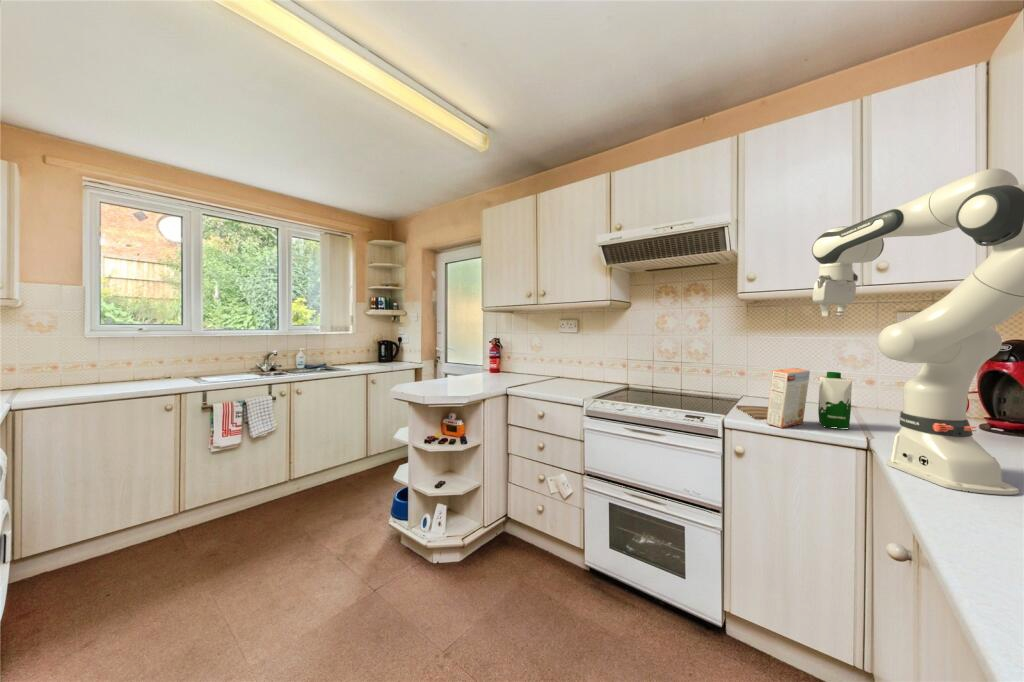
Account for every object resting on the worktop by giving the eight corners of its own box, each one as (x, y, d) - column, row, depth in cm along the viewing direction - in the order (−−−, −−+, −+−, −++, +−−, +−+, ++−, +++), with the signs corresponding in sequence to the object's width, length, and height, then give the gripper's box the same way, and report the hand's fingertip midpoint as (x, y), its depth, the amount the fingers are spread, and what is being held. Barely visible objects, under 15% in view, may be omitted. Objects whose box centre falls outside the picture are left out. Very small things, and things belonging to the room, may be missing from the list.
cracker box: (786, 419, 147) (793, 367, 144) (803, 424, 142) (811, 370, 139) (764, 423, 141) (771, 369, 139) (781, 428, 136) (789, 372, 133)
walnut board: (800, 421, 146) (800, 418, 146) (754, 419, 150) (754, 416, 150) (776, 409, 166) (776, 407, 166) (736, 407, 169) (736, 405, 169)
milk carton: (844, 425, 141) (847, 372, 140) (853, 431, 133) (855, 375, 132) (815, 422, 145) (817, 371, 144) (821, 428, 137) (823, 373, 136)
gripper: (830, 273, 121) (828, 316, 122) (860, 276, 130) (858, 316, 131) (807, 275, 127) (806, 316, 128) (838, 278, 136) (836, 316, 137)
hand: (833, 316), depth 130 cm, fingers open, 8 cm apart
